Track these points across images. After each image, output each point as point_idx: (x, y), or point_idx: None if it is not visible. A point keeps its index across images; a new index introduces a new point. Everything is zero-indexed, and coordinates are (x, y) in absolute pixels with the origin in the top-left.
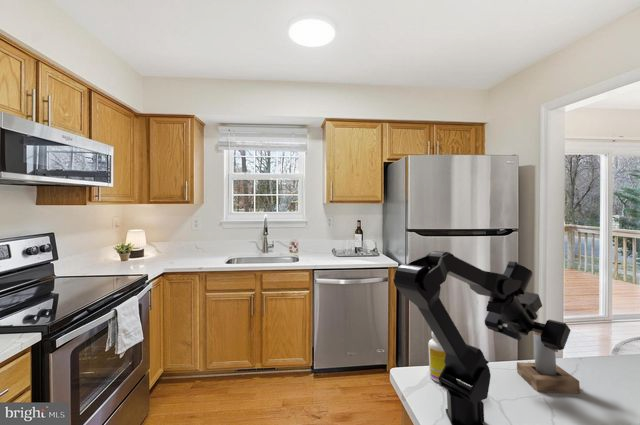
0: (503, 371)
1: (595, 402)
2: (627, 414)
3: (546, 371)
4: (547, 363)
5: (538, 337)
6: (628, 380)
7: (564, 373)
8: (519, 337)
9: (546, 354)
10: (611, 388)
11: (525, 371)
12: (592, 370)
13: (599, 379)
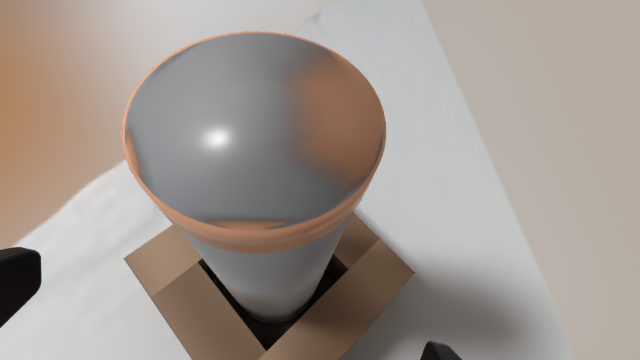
0: (77, 308)
1: (458, 327)
2: (554, 344)
3: (288, 312)
4: (297, 300)
5: (226, 259)
6: (446, 84)
7: (345, 231)
8: (8, 284)
9: (297, 291)
10: (441, 164)
11: (181, 339)
12: (363, 74)
13: (397, 123)
